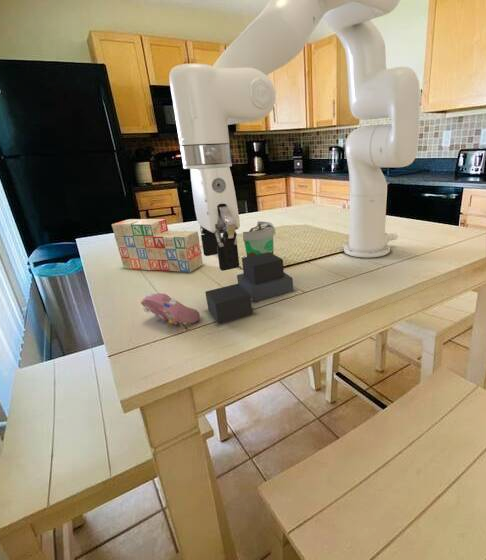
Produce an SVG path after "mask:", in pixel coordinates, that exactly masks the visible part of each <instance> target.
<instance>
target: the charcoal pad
mask: <svg viewBox="0 0 486 560" xmlns="http://www.w3.org/2000/svg"><path fill="white" fill-rule="evenodd" d="M241 263H242V270H243V272H242V273H244V276H246V277H247V278H248V279H249V280H250V281H252V282H253V283H254V284H255V285H256V284H260V283H264V282H268V281H272V280H275V279H279V278H283V277H284V273H285V271H284V270H285V269H284V259H283V258H281V257H279V256H277V255H276V254H274V253H273V254H272V253H270V252H267V253H262V254H257V255H253V256H248V257H247V256H244V257H241Z"/></svg>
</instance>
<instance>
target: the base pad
mask: <svg viewBox="0 0 486 560" xmlns="http://www.w3.org/2000/svg"><path fill="white" fill-rule="evenodd" d="M236 279H237V284H239V285H240V286H241V287H242V288H243V289H245V290H246V291H247V292H248V293H249V294H250V296H251V301H253V302H258V301H263V300H265V299H269V298H273V297H276V296H280V295H283V294H286V293H291V292H294V279H293V277H292V276H290V275H289V274H287V273H286V272H284V277H283V278H279V279H275V280H272V281H268V282H264V283H260V284H256V285H255V284H254V283H253V282H252V281H250V280H249V279H248V278H247V277H246V276H244V272H242V273H239V274H236Z"/></svg>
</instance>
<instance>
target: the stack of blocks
mask: <svg viewBox="0 0 486 560" xmlns="http://www.w3.org/2000/svg"><path fill="white" fill-rule="evenodd" d="M111 228H112V231H113V235H114V239H115V242H116V246H117V247H118V248H117V249H118V252H119V255H120V260H121V262H122V266H123V269H129V270H130V269H131V270H145V271H146V270H147V271H164V272H166V271H167V272H182V273H191V272H193V271H195V270H196V269H198V268H199V267H202V266H203V265H204V262H203V257H202V256H203V255H202V249H201V244H200V237H199V231H198V230H175V229H173V230H169V228H168V223H167V219H166V218H138V219H137V218H129V219H125V220H121V221H119V222H114V223H112V224H111Z"/></svg>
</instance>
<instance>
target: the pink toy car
mask: <svg viewBox="0 0 486 560" xmlns="http://www.w3.org/2000/svg"><path fill="white" fill-rule="evenodd" d="M140 304H141V305H142V307H143V308H142V309H143V311H144V312H145V313H147V314H149V313H152V314H154V315H155V316H156V317H158V318H159V319H160V320H162V321H164V322H165V321H168V323H169V324H173V325H175V326H177V325H178V324H179V323H180V322H182V323H185V324H193V323H196V322H198V321H199V320H200V317H201V315H200V312H199V311H198V310H197V309H195V308H191V307H189V306H186V305H184V304H183V303H181V302H179V301H178V300H177V299H174V298H172V297H170V295H168V294H166V293H162V292H160V293H153V292H150V293H149V295H146V296H145V297H144V298H143V299H142V300H141V301H140Z"/></svg>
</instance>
